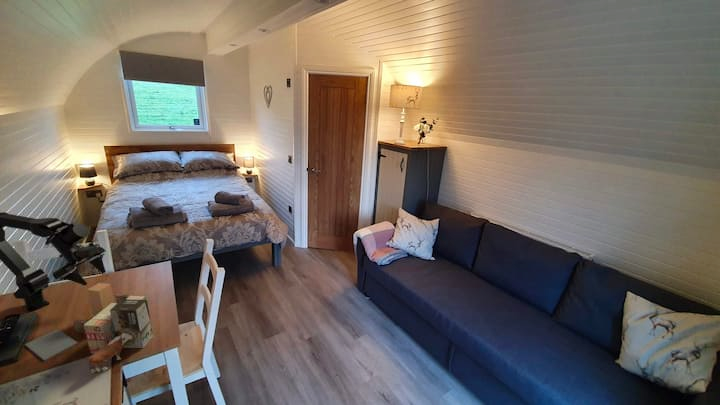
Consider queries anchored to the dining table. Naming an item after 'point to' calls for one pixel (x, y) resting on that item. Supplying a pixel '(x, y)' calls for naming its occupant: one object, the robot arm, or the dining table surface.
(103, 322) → the printed cardboard box
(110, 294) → the tan block
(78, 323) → the beige u-shaped block
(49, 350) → the slate mat
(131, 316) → the coffee box
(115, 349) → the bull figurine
